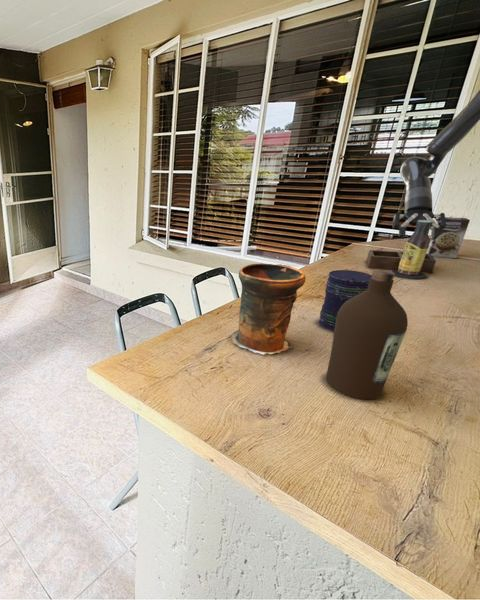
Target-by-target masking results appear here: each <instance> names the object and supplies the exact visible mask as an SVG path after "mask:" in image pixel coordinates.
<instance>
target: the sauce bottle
mask: <svg viewBox="0 0 480 600" xmlns="http://www.w3.org/2000/svg"><path fill="white" fill-rule="evenodd" d="M432 223H433V221H429V220H418V221H417V225H416V227H415V229H414V231H413V232H412V234H411V235H410V237H409V238H408V240H406V243H405V245H404V248H403V251H402V252H403V255H402V258H401V261H400V264H399V267H398V268H399V269H398V272H399V273H401V274H404V275H418V274H419V271H420V270H421V267H422V264H423V261H424V258H425V256H426V253H427V250H428V246H429V243H430V236H429V233H430V231H431V229H430V227H431V225H432Z"/></svg>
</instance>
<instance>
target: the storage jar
mask: <svg viewBox="0 0 480 600" xmlns="http://www.w3.org/2000/svg"><path fill="white" fill-rule="evenodd" d="M371 277H372V274H369V273H366V272H362V271H358V270H351V269H350V270H349V269H337V270H331V271H329V272H328V277H327V281H326V283H325V289H324V292H325V295H324V299H323V304H322V305H321V310H320V311H319V312H320V313H319V320H318V325H319V326H320V327H321V328H322V329H325V330H327V331H329V332H333V333H334V331H335V324H336V318H337V314H338V311H339V309H340V308H341V306H342V305H343V304H344V303H345V302H346V301H347V300H349V299H351V298H353V297H355V296H356V295H358V294H360V293H362V292H364V291H366V290H367V289H368V285H369V281H370V278H371Z"/></svg>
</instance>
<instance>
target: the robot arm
mask: <svg viewBox="0 0 480 600" xmlns="http://www.w3.org/2000/svg"><path fill="white" fill-rule="evenodd" d="M478 122H480V89H478V91H477V93H476V94H475V95H474V97H472V98H471V100H470V101H469V102H468V103H467V104H466V105H465V107H464V108H463V109H462V110H461V111H460V112H459V113H458V114H457V115H456V116H455V117H454V118H453V119H452V120H451V121H450V122H449V123H448V124H447V125H446V126H444V128H443V129H442V130H441V131H440V132H439V133H438V134H437V135H436V136H435V137H433V139H432V140H431V141H430V142H428V144H427V145H426V146H425V151H426V152H427V153H428V154H430V155H429V157H428V159H426V158H423V157H420V156H415V155H414V156H410V157H408V158H406V159H405V160H404V161H403V162H402V163H401V165H400V169H399V171H400V172H399V173H400V176H401V179H402V182H403V184H404V186H405V194H404V201H403V203H404V214H403V213H401V212H399V211H398V212H395V214H394V216H393V217H392V226H391V227H392V229H393V230H398V237H399V238H400V239H402V240H403V239H405V237H406V236H407V235H406V234H407V233H406V232H407V231H406V230H407V227H409V226H417V221H418V220H429V221H433V223H432V225H431V227H430V237H431V239H432V240H435V239H436V238H437V237H438V236H439V230H443V229H444V227H445V226H446V220H445V217H446V214H445V212H441V213H437V214H435V213H434V212H433V192H432V182H431V181H432V180H431V178H429V177H431V176H432V175H434V173H435V172H436V171H437V169H438V168H439V166H441V164H442V162H443V160H444V159H445V157H446V156H447V155H448V153H450V152H451V151H452V150H453V149H454V148H455V147H456V146H457V145H459V143H460V142H461V141H463V139H464V138H465V137H467V135H468V134H469V133H470V132H471V131H472V130H473V129H474V127H475V126H476V125H477V124H478ZM401 219H403V220H404V222H403V223H402V224H401V223H400V220H401ZM434 219H435V220H434ZM436 221H438V224H436V223H435V222H436Z"/></svg>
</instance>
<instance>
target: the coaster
mask: <svg viewBox="0 0 480 600" xmlns="http://www.w3.org/2000/svg"><path fill="white" fill-rule="evenodd" d="M390 271H391V272H393V273H395V275H394V277H398V278H402V279H406V280H407V279H408V280H425V279H426V278H427V277H428V276H427V274H426V273H423V272H419V274H418V275H404V274H401V273H399V272H398V270H390Z"/></svg>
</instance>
